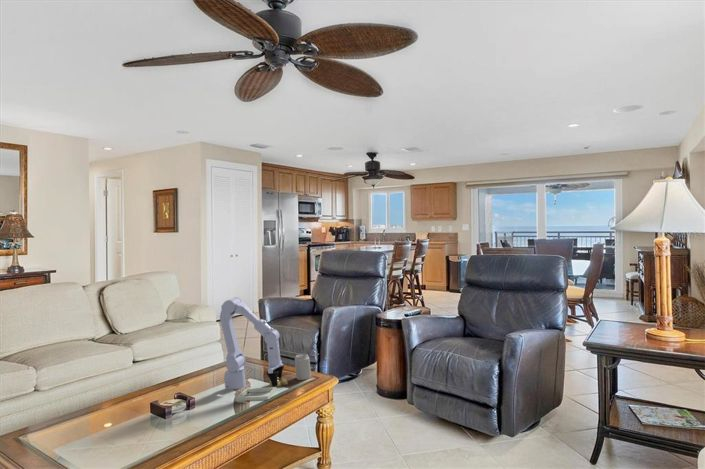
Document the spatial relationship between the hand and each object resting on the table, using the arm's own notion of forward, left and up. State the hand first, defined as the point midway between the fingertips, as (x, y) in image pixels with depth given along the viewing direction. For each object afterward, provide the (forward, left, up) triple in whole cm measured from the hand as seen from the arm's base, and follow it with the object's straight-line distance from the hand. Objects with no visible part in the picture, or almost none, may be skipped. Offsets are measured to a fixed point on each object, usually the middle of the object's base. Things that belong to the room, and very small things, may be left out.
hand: (276, 383), depth 207 cm
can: (+11, +9, -2) cm, 14 cm away
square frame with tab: (+1, 0, -1) cm, 1 cm away
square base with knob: (0, 0, -1) cm, 1 cm away
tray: (-5, -13, -1) cm, 14 cm away
